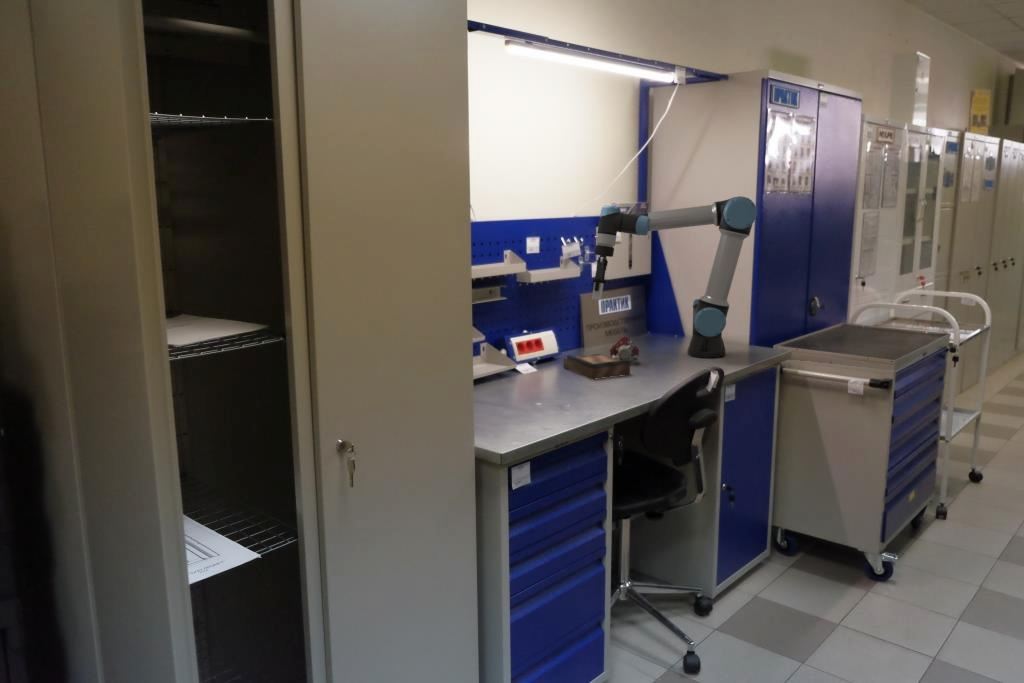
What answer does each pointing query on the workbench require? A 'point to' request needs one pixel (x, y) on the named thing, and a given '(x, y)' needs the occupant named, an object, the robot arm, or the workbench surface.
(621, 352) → the brake caliper
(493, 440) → the workbench surface
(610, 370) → the dock
